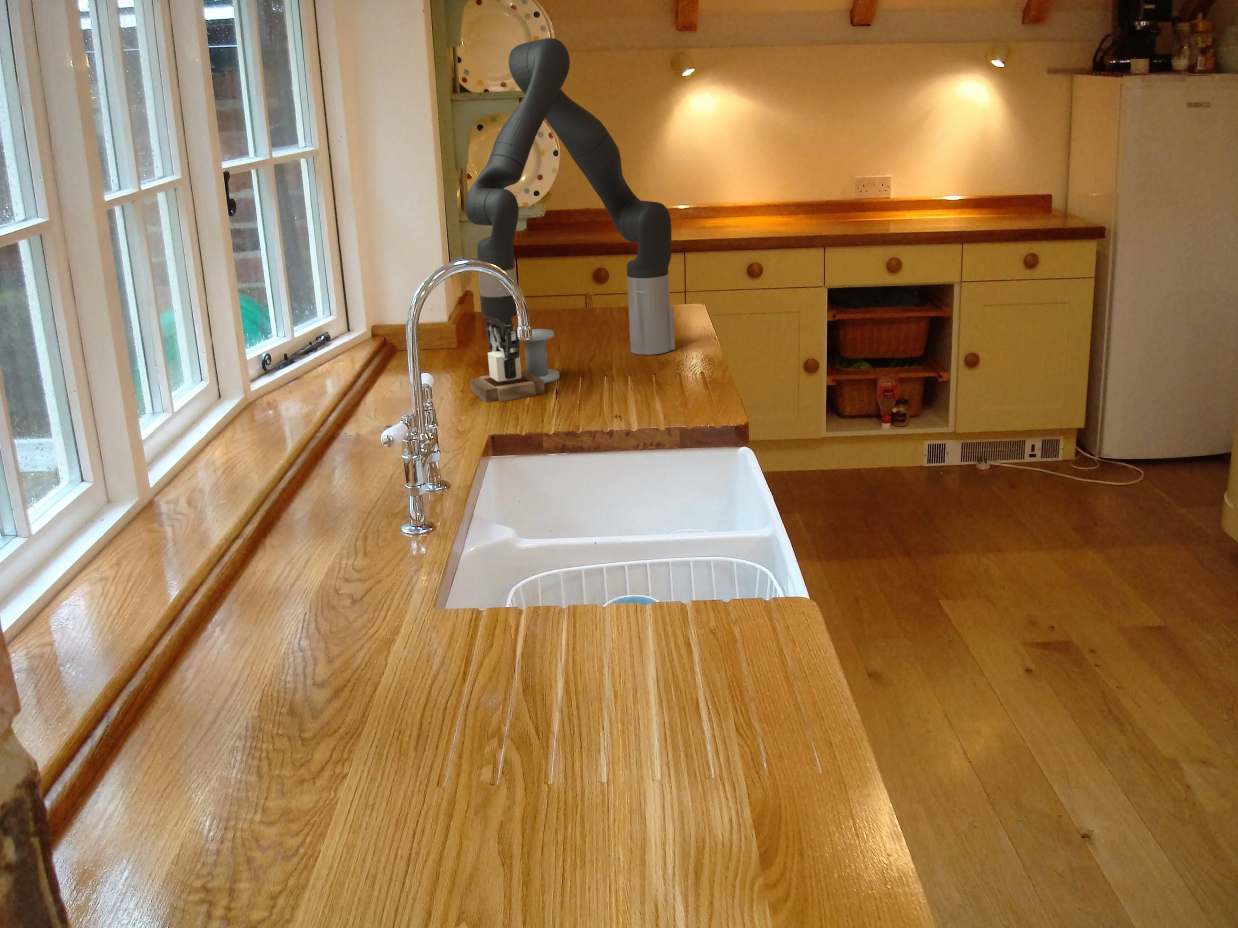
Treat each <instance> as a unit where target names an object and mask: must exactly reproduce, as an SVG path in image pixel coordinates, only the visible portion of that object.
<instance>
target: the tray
mask: <svg viewBox="0 0 1238 928" xmlns="http://www.w3.org/2000/svg"><path fill="white" fill-rule="evenodd" d="M521 376H522V378H519V379H513V380H506V381H500V382H498V381H496V380H494V379H493V378H491V377H490V374H487V375H481V376H478V378H472V379H471V378H470V379H469V387H470V392H471V393H473V394H474V395H475V396H477V397H479V398H480V399H481V400H483V401H484V402H485V403H490V402H496V401H499V402H506V401H510V400H518V399H524V398H530V397H535V396H536V395H538V394H542V393H545V384H544V380H542V379H541V378H539V377H537V376H535V375H533V374H532V373H530V372H528V371H527V370H521Z"/></svg>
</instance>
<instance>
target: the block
mask: <svg viewBox="0 0 1238 928" xmlns="http://www.w3.org/2000/svg"><path fill="white" fill-rule="evenodd" d="M510 353H511V349H510ZM487 361H488V370H489V371H488V373H489V375H490V377H491V378H493V379H494V380H496V381H498V382H500V381H506V380H513V379H519V378H522V376H521V371H522V367H521V354H520V353H519V358H516V359H515V366H516V377H515V378H512V379H507V378H505V373H504V360H503V356H502V351H495V352H492V351H490V352H487Z"/></svg>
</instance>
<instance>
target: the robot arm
mask: <svg viewBox="0 0 1238 928" xmlns="http://www.w3.org/2000/svg"><path fill="white" fill-rule="evenodd" d="M570 58H571V57H570V55H569V52H568V49H567V47H566V45H565V44H564V43H563V42H562V41H561V40H559V39H557V38H553V37H546V38H542V39H541V38H540V39H536V40H531V41H527V42H523V43H520V44H518V45H515V47H513V48H512V49H511V51H510V52H509V56H508V69H509V71H510V74H511V78H512V80H513V81H514V82H515V84H516V85H517V86H518V88H519V89H520V91H521V92H522V93H523V94H524V96H523V97H522V99H521V100H520V102H519V104H518V105H517V106H516V108H515V110H513V111H512V113H511V114H510V116H509V117H508V119H506V121H505V123H504V124H503V126H502V127H501V128H500V130H499V132H498V134H497V136H496V138H495V141H494V144H493V146H492V150H491V152H490V154H489V157H488V161H487V164H486V165H485V167H484V168H483V169H482V171H481V172H480V173H479V175H478V176H477V178H476V179H475V181H474V182H473V184H472V185H471V187H470V189H469V190H468V192H467V194H466V197H465V202H464V212H465V215H466V218H467V219H468V221H469V222H471V223H472V224H473V225H477V226H491V227H492V228H491V233H490V237H486V238H482V239H481V240H479V241H478V243H477V247H476V251H477V253H476V254H477V261H478V260H480V261H484V262H488V263H491V264H494V265H496V266H498V267H500V268H501V269H502V270H504V271H505V272H506V273H507V274H508V275H509V276H510V277H511V278H512V279H513V280H514V281H515V282H516V284H517V285H518V279H517V274H516V267H515V255H514V254H515V253H514V245H515V244H514V243H515V239H516V238H515V236H516V231H517V225H518V220H519V213H520V212H519V211H520V209H519V204H518V200H517V198H516V196H515V195H514V193H513V192H512V191H511V190H510V189H507V187H510V186H514V185H516V184H517V183H518V182H519V181H520V180H521V178H522V176H523V173H524V170H525V167H526V164H527V162H528V158H529V155H530V152H531V151H532V147H533V145H534V142H535V140H536V138H537V135H538V133H539V131H540V129H541V127H542V125H543V122H544V121H546V123H548V125H549V126H550V128H551V129H552V131H553V132H554V133H555V134H556V136H557V138H558V139H559V140H560V142H561V143H562V144H563V146H564V147H565V149H566V151H567V152H568V153H569V155H570V157H571V158H572V160H573V162H574V163H575V164H576V165H577V167H578V168H579V170H580V171H581V172H582V174H583V175H584V176H585V179H586V180H587V181H588V183H589V185H590V186H591V187H592V188H593V190H594V191H595V193H596V194H597V196H598V197H599V199H600V200H601V202H602V204H603V205H604V208H605V209H606V211H607V213H608V216H609V217H610V218H611V221H612V223H613V224H614V226H615V228H616V229H617V231H618V234H619V235H620V236H621V237H622V239H623V238H624V240H626V241H628V242H630V243H634V244H637V255H636V257H635V258H634V259H632V260H629V261H628V262H627V264H626V283H627V284H626V285H627V300H628V301H627V303H628V319H629V322H628V324H629V345H630V352H631V353H632V354H637V355H641V356H642V355H644V356H646V355H647V356H648V355H649V356H650V355H651V356H652V355H659V354H660V355H661V354H665V353H668V352H671V351H675V350H676V344H675V343H676V340H675V338H676V337H675V316H674V315H675V314H674V308H673V307H672V306H671V305H670V303H671V302H670V284H669V282H670V280H669V279H670V278H669V265H670V263H671V260H672V234H673V233H672V219H671V218H672V217H671V215H670V212H669V210H668V208H667V206H665V205H664V204H663V203H662V202H658V201H652V200H651V201H650V200H641V199H640V198H638V196H636V194H635V193H634V192H633V191H632V189H631V188H630V186H629V185H628V183H627V181H626V179H625V177H624V175H623V167H622V158H621V153H620V149H619V148H618V145H617V144H616V142H615V140H614V138H613V137H612V135H611V134H610V132H609V131H608V129H607V128H606V126H605V125H604V124H603V123H602V121H601V120H600V119H598V117H596V116H595V115H594V114H593V113H591V111H588V109H585V108H584V107H583V106H582V105H580V104H578V103H576V101H575V100H573V99H571V98H570V97H569V96H568V95H567V94H566V93H565V92H564V91H563V90H562V87H563V85H564V83H565V81H566V80H567V77H568V74H569V71H570V65H571V62H570V61H571V60H570ZM478 289H479V300H480V311H481V313H480V314H481V316H482V317H484V318H486V319H489V320H486V321H484V325H485V332H486V336H487V337H486V338H487V345H488V349H489V351H491V352H495V351H502V356H503V360H504V373H505V378H507V379H512V378H515V377H516V366H515V359H516V358H519V354H520V341H519V339H518V337H517V330H518V329H515V325H514V324H513V320H512V318H513V317H515V316H518V315H517V311H516V304H515V302H514V300H513V298H512V296H511V294H510V292H509V291H508V289H507V288H506V287H505V286H504V285H503V284H502V283H501V282H500V281H498V280H497V279H496V278H495V277H493V276H491V275H488V274H486V273H482V272H479V271H478ZM510 349H511V353H510Z"/></svg>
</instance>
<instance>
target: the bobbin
mask: <svg viewBox="0 0 1238 928" xmlns="http://www.w3.org/2000/svg"><path fill="white" fill-rule="evenodd" d="M554 336H555V331H554V330H552V329H547V328H535V329H532V339H531V340H530V341H527V342H524V352H525V353H524V354H525V363H526V371H528V372H530V373H532V374H533V375H535V376H537V377H539V378H541V379H542V380H544V385H545V384H551V383H554V382H556V381H558V380H560V372H559V371H558V370H556V369H551V368H549V367H548V354H547V341H546V340H549V339H552V338H554ZM519 342H520V340H519Z"/></svg>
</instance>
